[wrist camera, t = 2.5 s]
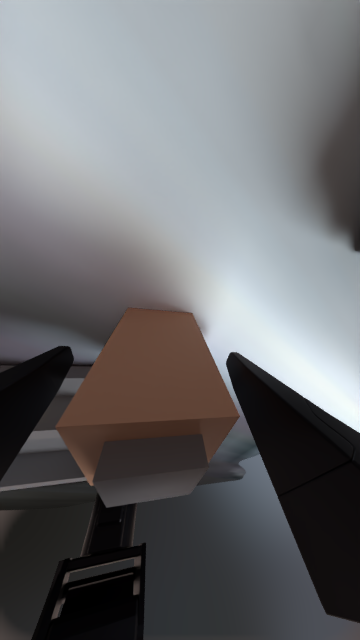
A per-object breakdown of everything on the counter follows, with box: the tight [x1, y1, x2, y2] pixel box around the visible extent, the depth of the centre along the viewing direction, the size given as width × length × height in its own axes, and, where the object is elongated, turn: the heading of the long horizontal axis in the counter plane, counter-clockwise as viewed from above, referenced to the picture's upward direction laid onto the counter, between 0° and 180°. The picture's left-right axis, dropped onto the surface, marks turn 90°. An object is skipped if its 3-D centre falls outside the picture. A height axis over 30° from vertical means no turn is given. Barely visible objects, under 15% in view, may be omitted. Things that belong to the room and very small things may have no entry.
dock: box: [0, 365, 92, 491], centre depth 10 cm, size 12×15×3 cm
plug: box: [55, 308, 240, 508], centre depth 6 cm, size 4×4×7 cm
